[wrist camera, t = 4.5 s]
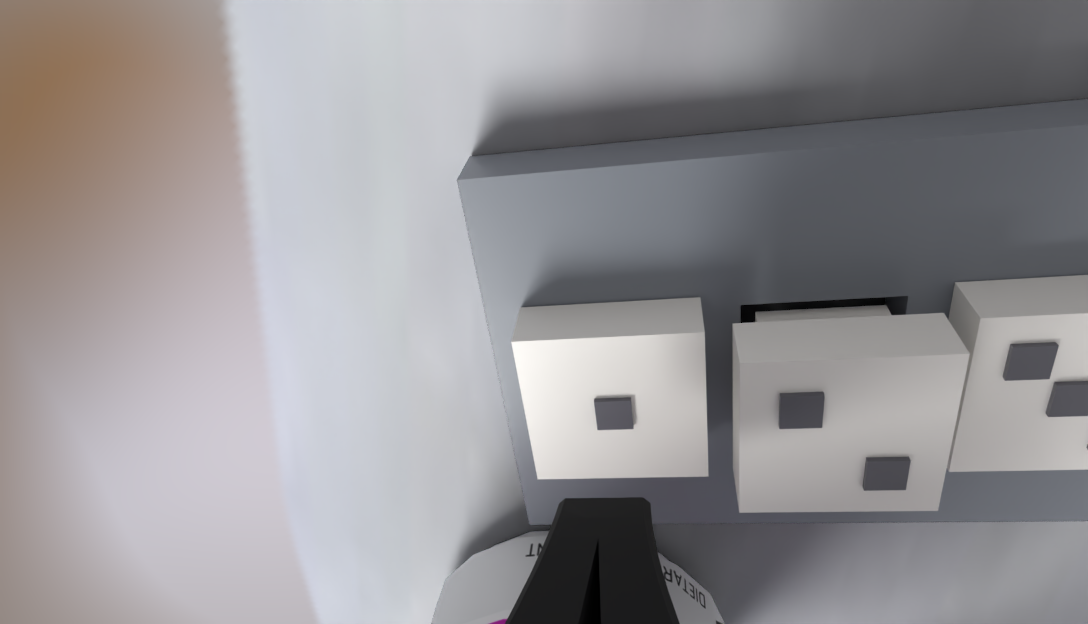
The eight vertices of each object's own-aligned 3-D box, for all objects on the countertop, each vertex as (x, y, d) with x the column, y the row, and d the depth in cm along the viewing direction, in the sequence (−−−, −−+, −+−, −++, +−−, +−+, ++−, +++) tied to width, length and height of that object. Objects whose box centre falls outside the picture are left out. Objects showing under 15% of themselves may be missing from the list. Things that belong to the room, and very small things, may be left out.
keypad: (1093, 480, 17) (1122, 520, 16) (535, 489, 19) (529, 525, 18) (1232, 85, 12) (1285, 107, 11) (470, 156, 14) (456, 179, 13)
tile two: (899, 423, 15) (939, 515, 13) (727, 427, 16) (740, 516, 14) (921, 277, 14) (972, 357, 11) (725, 289, 14) (740, 367, 12)
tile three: (1088, 387, 15) (1158, 472, 13) (910, 393, 16) (950, 476, 14) (1135, 238, 14) (1223, 310, 12) (932, 251, 14) (983, 321, 12)
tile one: (701, 400, 17) (708, 480, 15) (549, 405, 17) (536, 483, 15) (696, 266, 15) (704, 335, 13) (528, 277, 16) (510, 345, 13)
